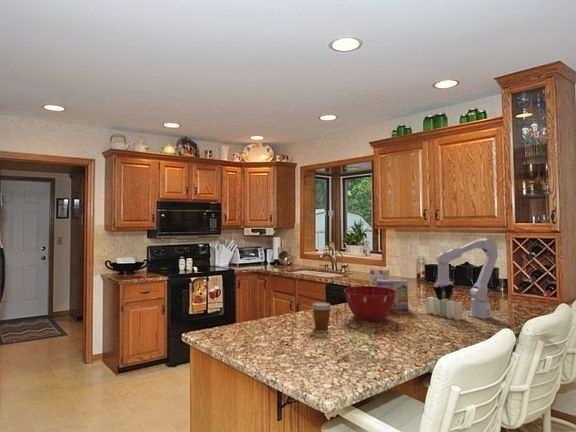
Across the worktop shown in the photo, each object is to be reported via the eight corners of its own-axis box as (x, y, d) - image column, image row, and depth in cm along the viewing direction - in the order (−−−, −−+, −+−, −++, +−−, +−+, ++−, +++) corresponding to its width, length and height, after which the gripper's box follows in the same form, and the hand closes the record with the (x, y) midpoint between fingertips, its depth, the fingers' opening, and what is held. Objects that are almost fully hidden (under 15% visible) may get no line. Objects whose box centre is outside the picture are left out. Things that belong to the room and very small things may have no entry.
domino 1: (434, 312, 233) (434, 297, 233) (428, 313, 230) (428, 297, 231) (431, 312, 235) (431, 296, 235) (426, 313, 232) (426, 297, 232)
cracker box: (369, 298, 278) (369, 268, 278) (376, 297, 280) (376, 267, 281) (382, 301, 265) (382, 270, 265) (389, 301, 268) (389, 269, 268)
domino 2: (440, 313, 229) (440, 298, 230) (435, 315, 227) (435, 299, 227) (438, 313, 231) (438, 297, 231) (432, 314, 228) (432, 298, 228)
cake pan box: (375, 309, 243) (375, 279, 243) (375, 307, 248) (375, 278, 248) (408, 310, 238) (408, 281, 239) (407, 308, 243) (407, 279, 243)
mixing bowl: (398, 326, 203) (398, 295, 203) (342, 323, 208) (342, 293, 209) (395, 313, 230) (394, 286, 231) (345, 311, 236) (345, 285, 236)
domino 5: (462, 318, 218) (462, 302, 218) (456, 319, 215) (456, 303, 216) (459, 318, 219) (459, 301, 220) (454, 319, 217) (453, 302, 217)
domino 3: (447, 315, 226) (447, 299, 226) (442, 316, 223) (442, 300, 223) (445, 314, 227) (445, 299, 227) (439, 316, 224) (439, 300, 224)
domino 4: (454, 317, 222) (454, 300, 222) (449, 318, 219) (449, 301, 219) (452, 316, 223) (452, 300, 223) (446, 317, 220) (446, 301, 221)
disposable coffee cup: (315, 331, 193) (315, 306, 193) (309, 326, 202) (309, 302, 202) (334, 329, 195) (333, 305, 196) (327, 325, 205) (326, 301, 205)
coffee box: (450, 303, 261) (450, 278, 261) (453, 305, 254) (453, 279, 255) (435, 302, 262) (435, 278, 262) (438, 304, 255) (438, 279, 255)
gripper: (445, 273, 233) (445, 296, 232) (429, 274, 225) (429, 299, 225) (456, 274, 227) (456, 298, 226) (439, 276, 219) (440, 301, 219)
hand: (443, 298), depth 225 cm, fingers open, 7 cm apart
